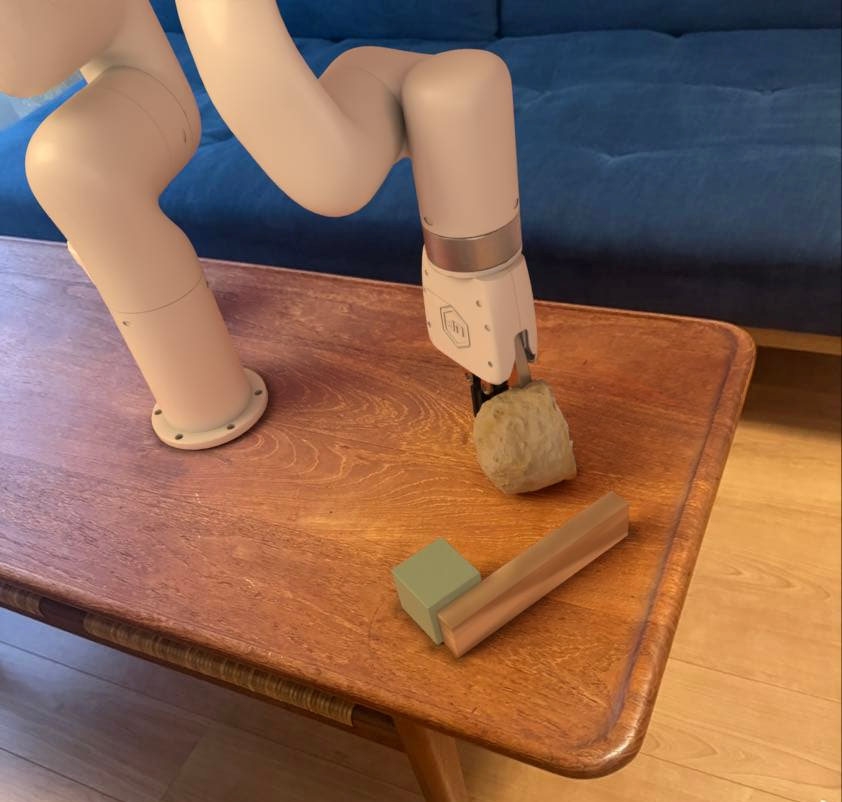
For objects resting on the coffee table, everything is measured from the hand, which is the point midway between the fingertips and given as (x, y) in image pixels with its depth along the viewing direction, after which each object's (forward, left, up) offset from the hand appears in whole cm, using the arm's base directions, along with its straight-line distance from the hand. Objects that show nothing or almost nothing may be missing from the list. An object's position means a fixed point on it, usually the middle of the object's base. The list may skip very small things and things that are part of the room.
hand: (492, 414), depth 77 cm
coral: (+6, -1, -3) cm, 7 cm away
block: (+13, -16, -2) cm, 21 cm away
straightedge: (+17, -9, -2) cm, 19 cm away
